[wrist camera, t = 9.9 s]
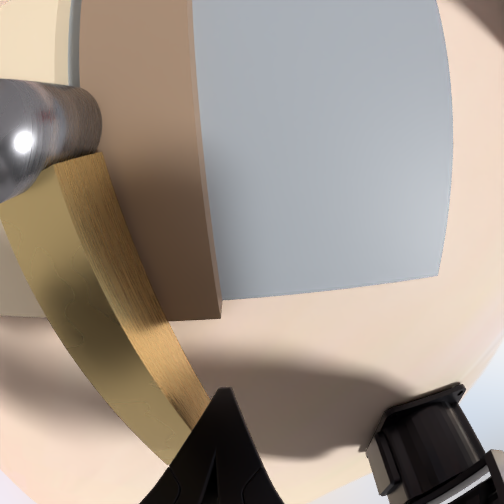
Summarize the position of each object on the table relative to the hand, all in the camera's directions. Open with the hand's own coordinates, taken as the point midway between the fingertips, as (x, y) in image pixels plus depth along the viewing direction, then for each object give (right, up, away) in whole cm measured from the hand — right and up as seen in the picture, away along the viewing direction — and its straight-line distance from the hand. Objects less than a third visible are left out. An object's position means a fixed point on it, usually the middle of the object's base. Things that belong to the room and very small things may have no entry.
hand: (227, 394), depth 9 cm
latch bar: (-3, +3, -1) cm, 5 cm away
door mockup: (-4, +9, -1) cm, 10 cm away
